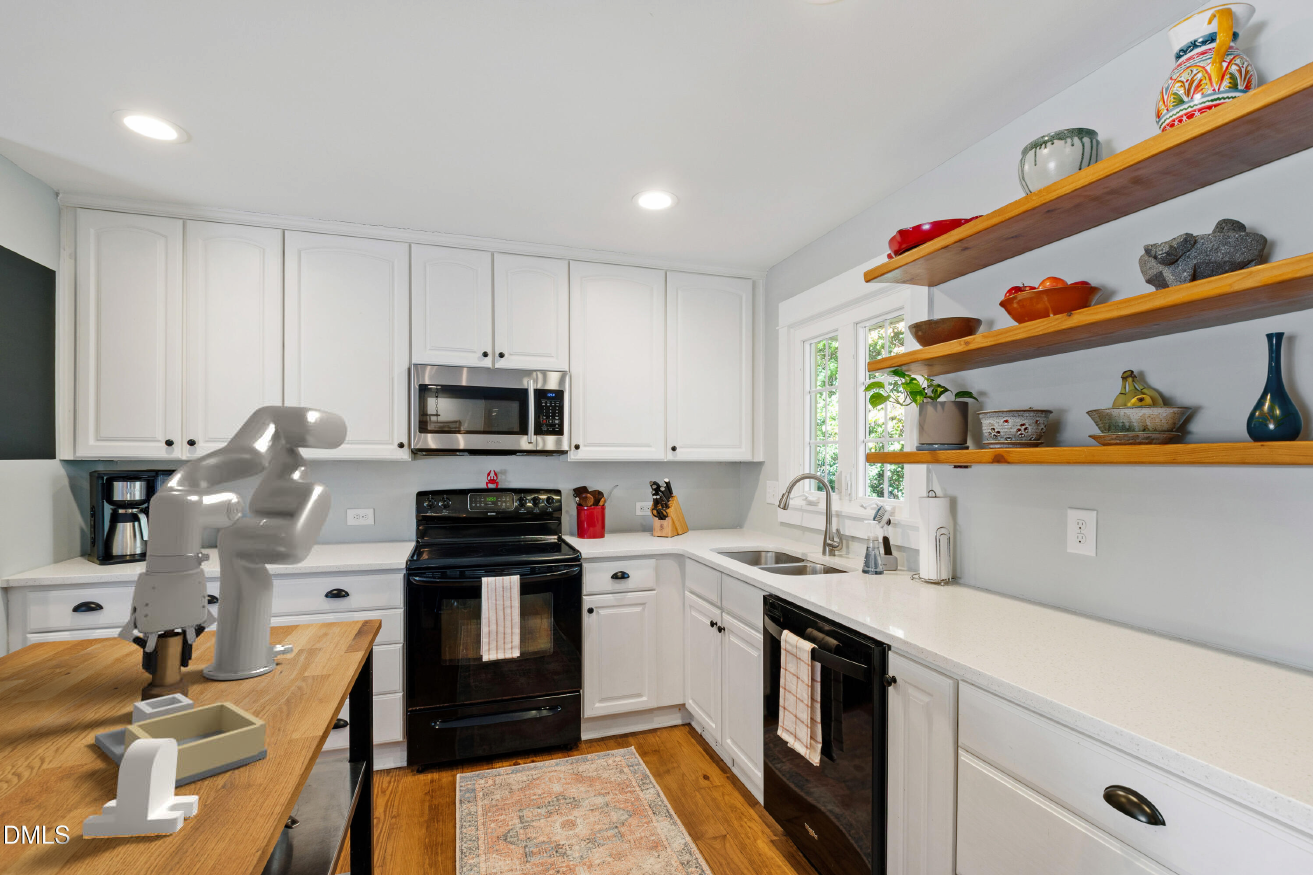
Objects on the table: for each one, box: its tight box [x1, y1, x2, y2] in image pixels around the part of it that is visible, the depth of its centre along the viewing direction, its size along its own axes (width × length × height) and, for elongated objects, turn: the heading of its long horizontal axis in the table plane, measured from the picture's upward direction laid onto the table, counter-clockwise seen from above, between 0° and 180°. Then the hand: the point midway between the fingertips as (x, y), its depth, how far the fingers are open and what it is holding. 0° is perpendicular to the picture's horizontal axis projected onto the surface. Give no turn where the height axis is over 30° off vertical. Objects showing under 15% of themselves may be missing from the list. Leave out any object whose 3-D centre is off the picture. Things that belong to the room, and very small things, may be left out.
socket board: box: [94, 693, 268, 788], centre depth 94 cm, size 14×24×5 cm, turn 55°
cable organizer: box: [81, 738, 199, 836], centre depth 76 cm, size 5×10×10 cm, turn 100°
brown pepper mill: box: [140, 629, 190, 702], centre depth 108 cm, size 7×6×18 cm
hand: (166, 667), depth 108 cm, fingers closed on brown pepper mill, 4 cm apart
